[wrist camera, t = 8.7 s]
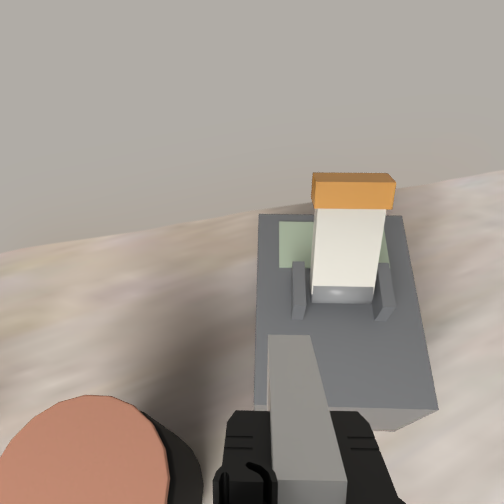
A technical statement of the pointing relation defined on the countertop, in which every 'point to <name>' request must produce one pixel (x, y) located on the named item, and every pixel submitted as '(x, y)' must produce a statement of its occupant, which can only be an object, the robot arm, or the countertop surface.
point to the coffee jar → (98, 458)
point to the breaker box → (346, 326)
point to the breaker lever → (347, 235)
